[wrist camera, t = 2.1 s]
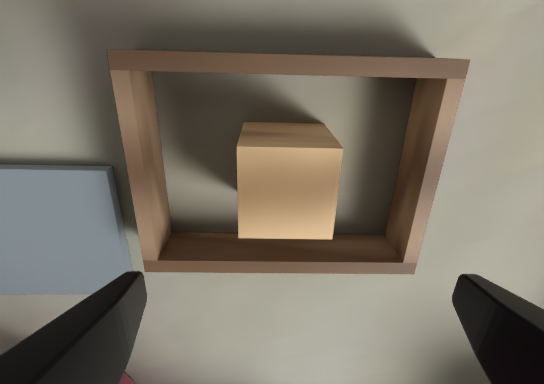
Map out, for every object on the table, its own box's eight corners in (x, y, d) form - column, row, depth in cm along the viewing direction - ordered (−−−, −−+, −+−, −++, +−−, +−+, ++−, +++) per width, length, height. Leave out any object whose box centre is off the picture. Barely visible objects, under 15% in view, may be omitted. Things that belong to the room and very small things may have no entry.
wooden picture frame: (394, 245, 21) (414, 274, 19) (160, 242, 21) (145, 271, 18) (436, 57, 16) (470, 59, 14) (133, 49, 16) (106, 49, 13)
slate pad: (135, 286, 22) (131, 294, 22) (4, 285, 22) (-4, 293, 21) (112, 166, 19) (105, 170, 18) (-46, 163, 18) (-59, 168, 18)
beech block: (316, 195, 20) (332, 239, 15) (244, 194, 20) (238, 238, 15) (323, 123, 18) (343, 148, 13) (244, 121, 18) (236, 146, 13)
